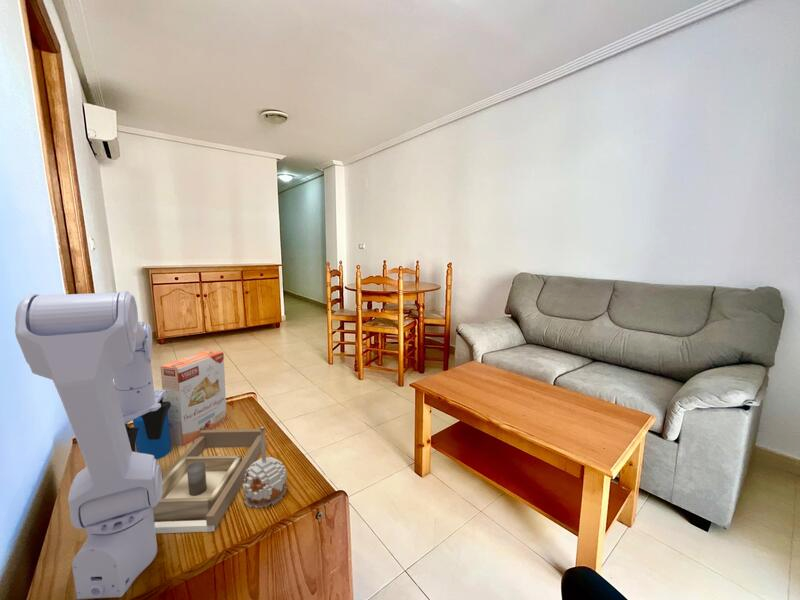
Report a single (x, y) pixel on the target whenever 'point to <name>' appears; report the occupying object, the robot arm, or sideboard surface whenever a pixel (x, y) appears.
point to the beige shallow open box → (194, 486)
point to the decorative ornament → (264, 480)
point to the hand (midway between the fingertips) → (141, 449)
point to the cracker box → (194, 394)
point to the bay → (227, 495)
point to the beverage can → (152, 446)
